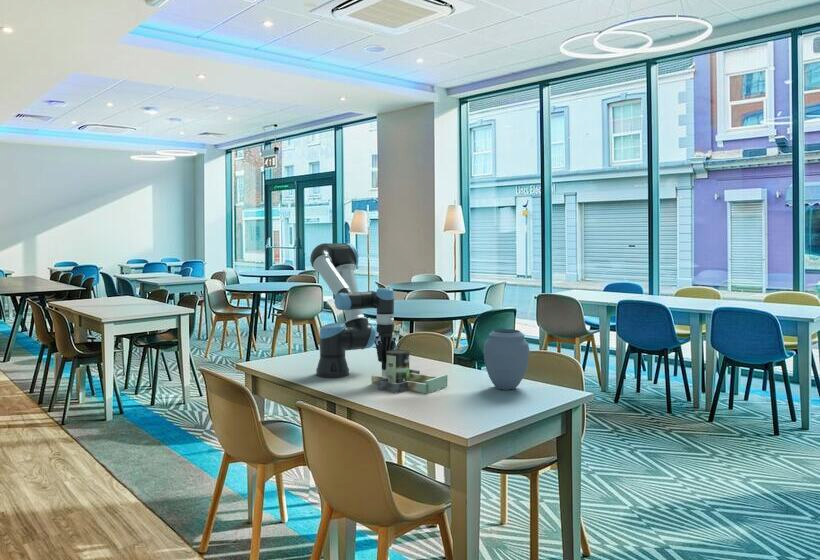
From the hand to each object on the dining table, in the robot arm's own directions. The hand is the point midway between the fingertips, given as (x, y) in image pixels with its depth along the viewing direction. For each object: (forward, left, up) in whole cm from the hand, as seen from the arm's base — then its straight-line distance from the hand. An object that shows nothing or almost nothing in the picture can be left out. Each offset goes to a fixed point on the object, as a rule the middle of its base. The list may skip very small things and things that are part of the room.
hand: (385, 376), depth 289 cm
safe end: (+24, 0, -2) cm, 25 cm away
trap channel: (+10, 0, -2) cm, 10 cm away
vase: (+49, +19, -2) cm, 53 cm away
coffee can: (+6, 0, -2) cm, 7 cm away
